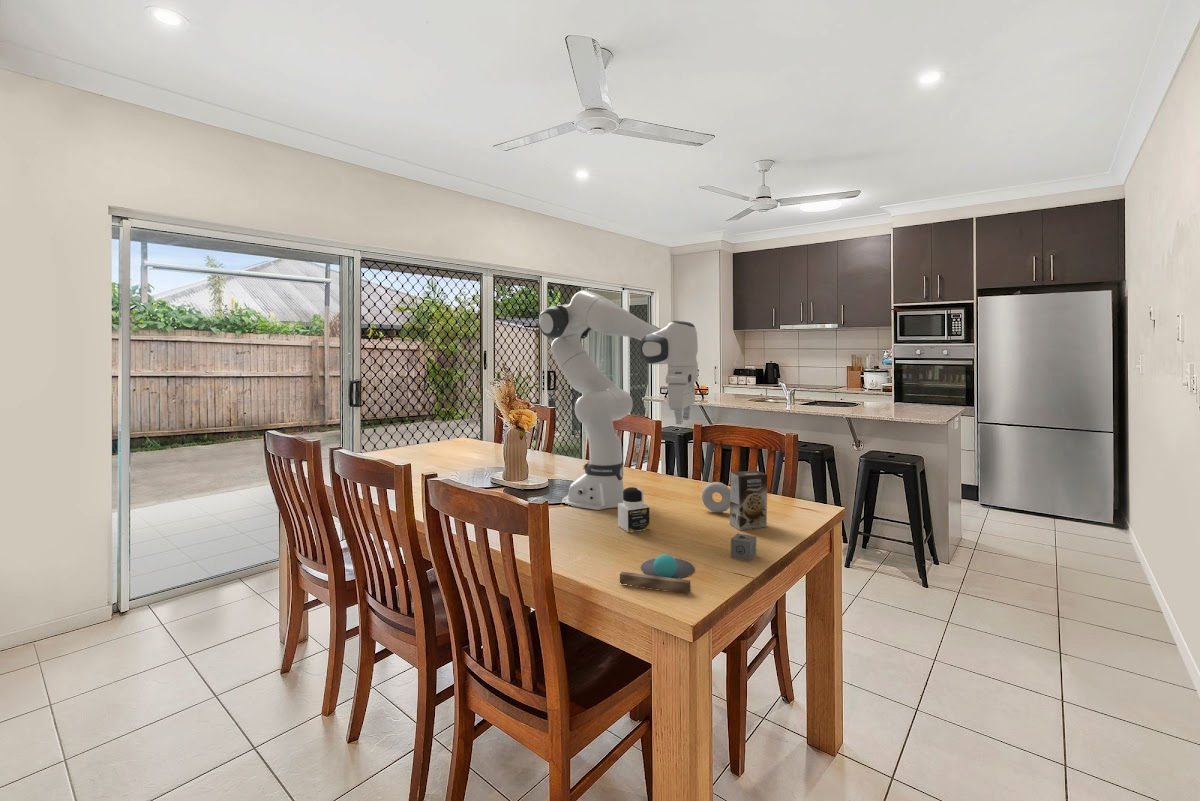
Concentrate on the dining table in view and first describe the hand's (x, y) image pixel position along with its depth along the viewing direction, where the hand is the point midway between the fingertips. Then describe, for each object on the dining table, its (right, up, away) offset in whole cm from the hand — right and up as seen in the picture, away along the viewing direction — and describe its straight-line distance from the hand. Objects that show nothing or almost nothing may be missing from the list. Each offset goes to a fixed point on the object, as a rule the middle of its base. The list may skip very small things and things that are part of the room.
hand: (682, 421), depth 174 cm
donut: (+13, -30, +13) cm, 35 cm away
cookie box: (+19, -31, -1) cm, 37 cm away
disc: (-8, -35, -32) cm, 48 cm away
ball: (-10, -33, -37) cm, 51 cm away
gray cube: (+12, -34, -25) cm, 44 cm away
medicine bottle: (-15, -32, -1) cm, 35 cm away
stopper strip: (-13, -36, -43) cm, 57 cm away
